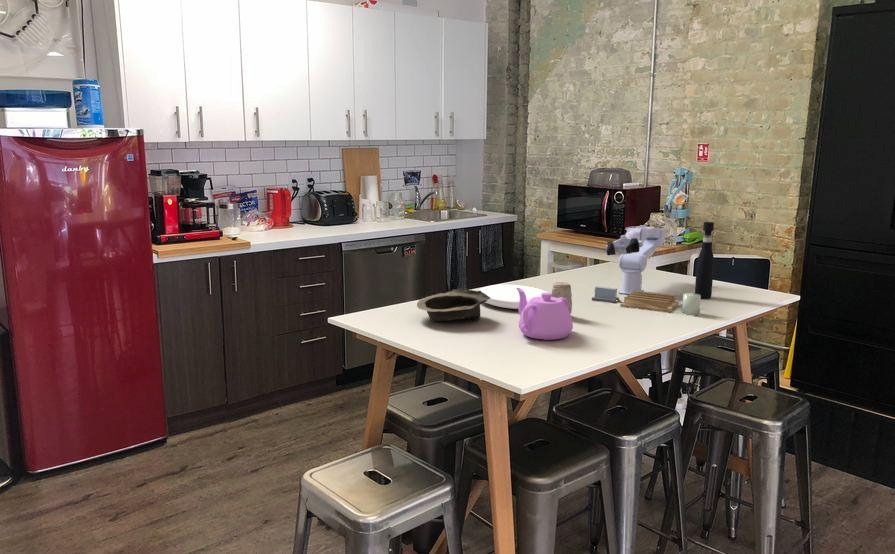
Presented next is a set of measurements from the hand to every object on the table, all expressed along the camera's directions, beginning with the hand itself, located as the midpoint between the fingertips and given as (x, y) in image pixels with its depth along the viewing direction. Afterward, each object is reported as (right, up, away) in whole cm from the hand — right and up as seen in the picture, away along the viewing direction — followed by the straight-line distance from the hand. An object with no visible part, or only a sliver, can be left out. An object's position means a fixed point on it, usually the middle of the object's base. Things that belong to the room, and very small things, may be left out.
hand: (617, 251), depth 273 cm
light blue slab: (-3, -19, +8) cm, 20 cm away
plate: (-39, -20, 0) cm, 44 cm away
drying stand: (-3, -18, +8) cm, 20 cm away
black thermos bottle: (+37, -18, +14) cm, 44 cm away
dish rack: (+12, -20, 0) cm, 24 cm away
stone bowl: (-63, -25, -24) cm, 72 cm away
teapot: (-35, -28, -40) cm, 60 cm away
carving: (-24, -24, -18) cm, 38 cm away
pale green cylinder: (+24, -23, -12) cm, 35 cm away
